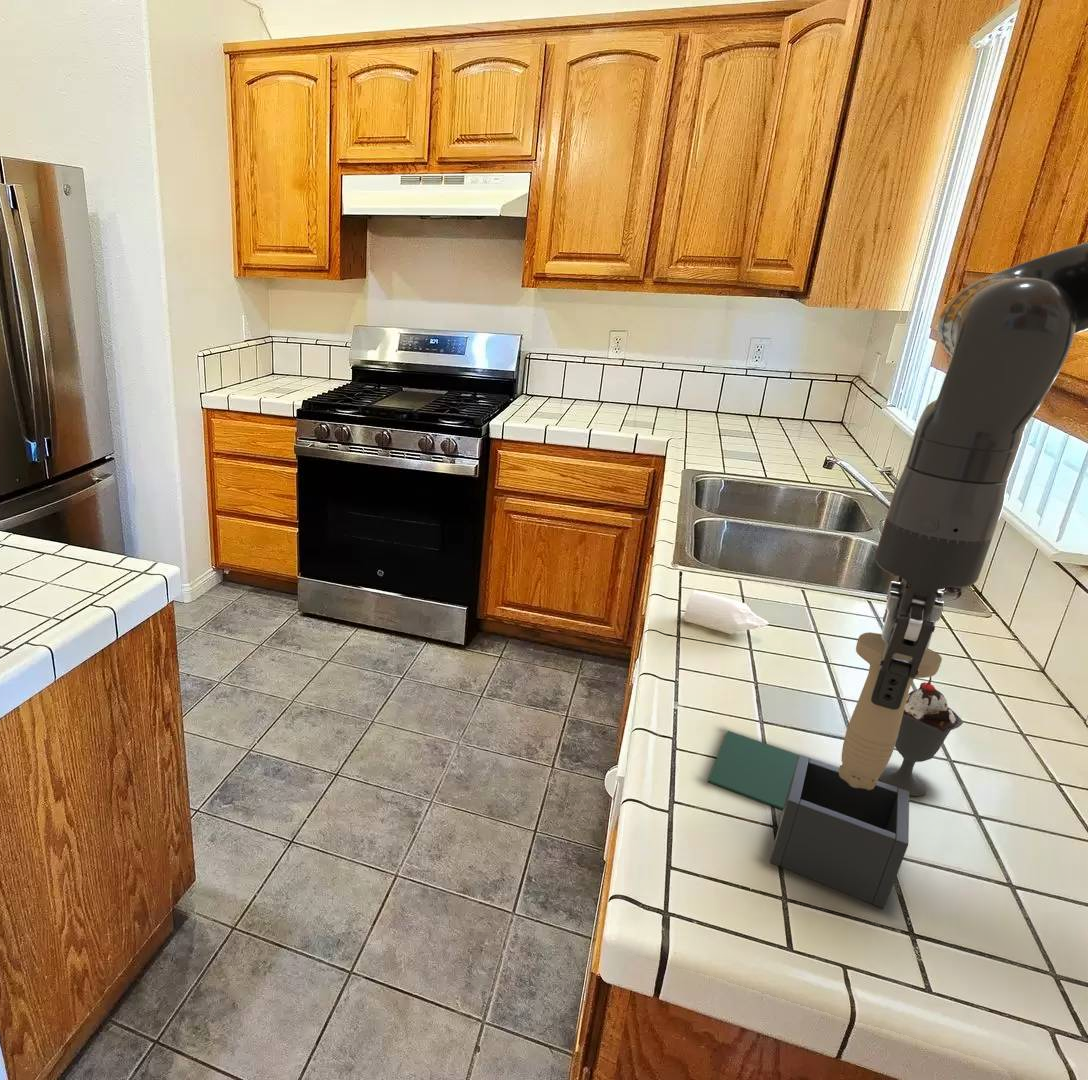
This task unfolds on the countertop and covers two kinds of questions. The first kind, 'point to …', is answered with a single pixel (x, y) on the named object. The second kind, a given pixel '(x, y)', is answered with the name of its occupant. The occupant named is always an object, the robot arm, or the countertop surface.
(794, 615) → the countertop surface
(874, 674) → the handle
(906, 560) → the robot arm
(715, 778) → the mat
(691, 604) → the white tapered piece
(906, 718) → the sundae
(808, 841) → the grey box
